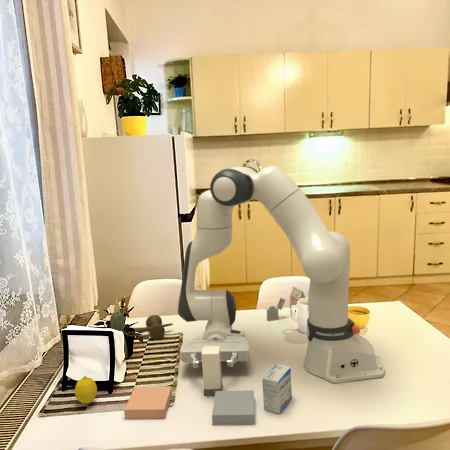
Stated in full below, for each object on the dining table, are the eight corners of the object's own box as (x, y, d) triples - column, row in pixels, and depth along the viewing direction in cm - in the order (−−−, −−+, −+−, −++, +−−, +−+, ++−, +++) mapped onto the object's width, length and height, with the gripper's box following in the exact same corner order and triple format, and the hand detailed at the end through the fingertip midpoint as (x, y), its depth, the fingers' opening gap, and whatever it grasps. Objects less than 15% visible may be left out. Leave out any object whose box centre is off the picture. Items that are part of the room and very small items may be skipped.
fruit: (74, 402, 111) (71, 374, 109) (96, 395, 113) (92, 368, 112) (78, 412, 106) (75, 384, 105) (100, 405, 109) (97, 377, 107)
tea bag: (298, 309, 165) (297, 285, 164) (307, 315, 159) (307, 290, 157) (290, 311, 164) (289, 287, 162) (299, 317, 158) (298, 292, 156)
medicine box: (279, 414, 101) (278, 382, 99) (263, 409, 103) (261, 377, 102) (292, 397, 108) (291, 367, 106) (276, 393, 110) (275, 363, 108)
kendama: (117, 337, 151) (171, 326, 156) (118, 349, 142) (176, 337, 147) (114, 321, 149) (169, 311, 155) (116, 333, 140) (174, 321, 146)
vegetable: (124, 363, 130) (118, 303, 126) (111, 363, 130) (105, 302, 127) (130, 357, 134) (124, 298, 130) (118, 356, 135) (111, 297, 131)
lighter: (268, 321, 156) (267, 301, 154) (266, 319, 157) (266, 299, 156) (286, 318, 157) (285, 298, 156) (284, 316, 159) (283, 297, 158)
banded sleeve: (222, 386, 115) (220, 345, 112) (221, 395, 110) (219, 354, 108) (205, 386, 115) (203, 345, 113) (203, 396, 110) (201, 354, 108)
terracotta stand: (172, 394, 112) (171, 386, 111) (164, 418, 102) (164, 409, 101) (135, 395, 112) (135, 386, 112) (124, 418, 103) (124, 409, 102)
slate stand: (254, 399, 108) (253, 390, 107) (254, 424, 98) (254, 414, 98) (215, 399, 108) (215, 390, 108) (212, 424, 99) (212, 415, 98)
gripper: (182, 332, 127) (174, 354, 114) (249, 331, 126) (249, 353, 112) (183, 352, 128) (176, 376, 115) (250, 350, 127) (250, 374, 113)
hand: (212, 364), depth 113 cm, fingers open, 8 cm apart
